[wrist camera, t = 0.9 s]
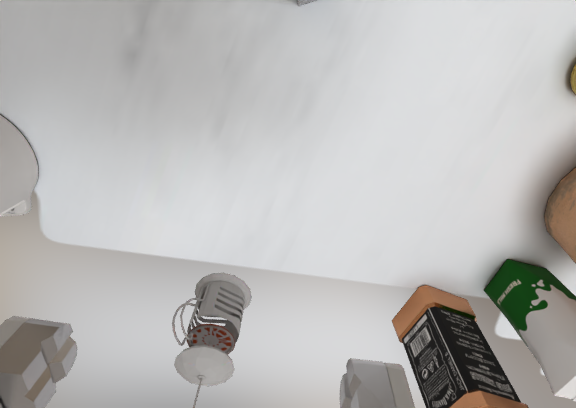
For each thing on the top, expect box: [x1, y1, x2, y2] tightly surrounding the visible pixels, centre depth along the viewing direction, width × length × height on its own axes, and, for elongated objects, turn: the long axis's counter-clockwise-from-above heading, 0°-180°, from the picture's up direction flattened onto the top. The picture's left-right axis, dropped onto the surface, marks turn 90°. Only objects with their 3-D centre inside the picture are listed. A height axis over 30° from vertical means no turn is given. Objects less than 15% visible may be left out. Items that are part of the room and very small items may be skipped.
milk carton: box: [484, 259, 576, 401], centre depth 46 cm, size 9×9×20 cm
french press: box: [172, 273, 252, 408], centre depth 46 cm, size 10×12×25 cm
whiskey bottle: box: [392, 285, 528, 408], centre depth 44 cm, size 10×10×32 cm
